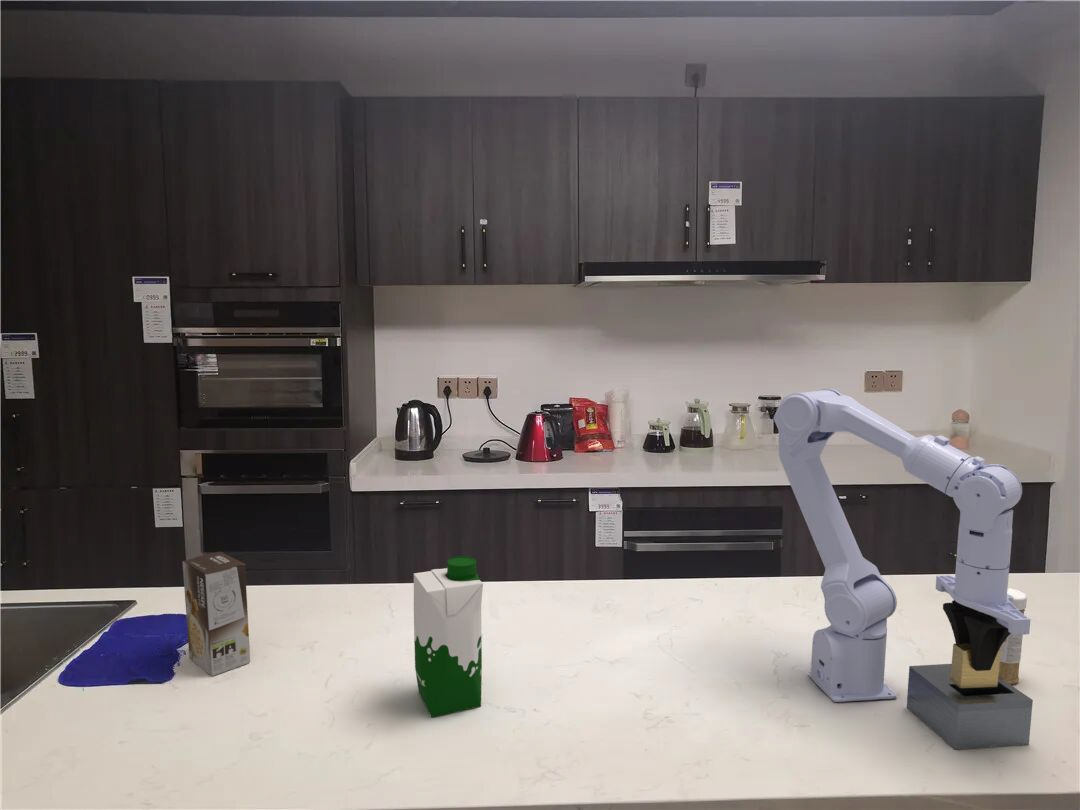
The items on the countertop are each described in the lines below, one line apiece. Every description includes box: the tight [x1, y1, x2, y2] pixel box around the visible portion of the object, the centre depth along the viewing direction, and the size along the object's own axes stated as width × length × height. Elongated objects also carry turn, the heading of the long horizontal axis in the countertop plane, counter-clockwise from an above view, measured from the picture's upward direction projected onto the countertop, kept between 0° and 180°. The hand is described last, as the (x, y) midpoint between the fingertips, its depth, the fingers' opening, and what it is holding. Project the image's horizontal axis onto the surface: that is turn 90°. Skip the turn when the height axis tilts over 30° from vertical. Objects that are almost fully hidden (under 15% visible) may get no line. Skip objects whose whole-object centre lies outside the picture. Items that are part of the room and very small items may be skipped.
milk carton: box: [413, 556, 484, 718], centre depth 102 cm, size 9×9×20 cm
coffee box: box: [181, 551, 251, 677], centre depth 114 cm, size 9×6×16 cm
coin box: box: [906, 663, 1034, 751], centre depth 96 cm, size 10×10×6 cm
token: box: [950, 643, 1001, 688], centre depth 94 cm, size 5×2×5 cm, turn 96°
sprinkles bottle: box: [998, 587, 1028, 685], centre depth 108 cm, size 5×5×13 cm
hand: (974, 664), depth 94 cm, fingers closed on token, 2 cm apart
